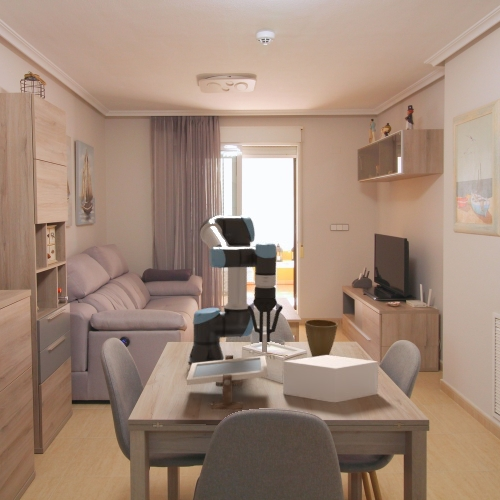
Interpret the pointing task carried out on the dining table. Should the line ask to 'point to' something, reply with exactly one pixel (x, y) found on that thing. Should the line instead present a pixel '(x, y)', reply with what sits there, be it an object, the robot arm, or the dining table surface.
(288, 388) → the block
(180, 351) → the dining table surface
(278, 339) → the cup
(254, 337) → the candle holder
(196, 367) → the tilted frame
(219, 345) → the robot arm
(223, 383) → the walnut stand
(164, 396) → the dining table surface
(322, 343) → the plant pot
